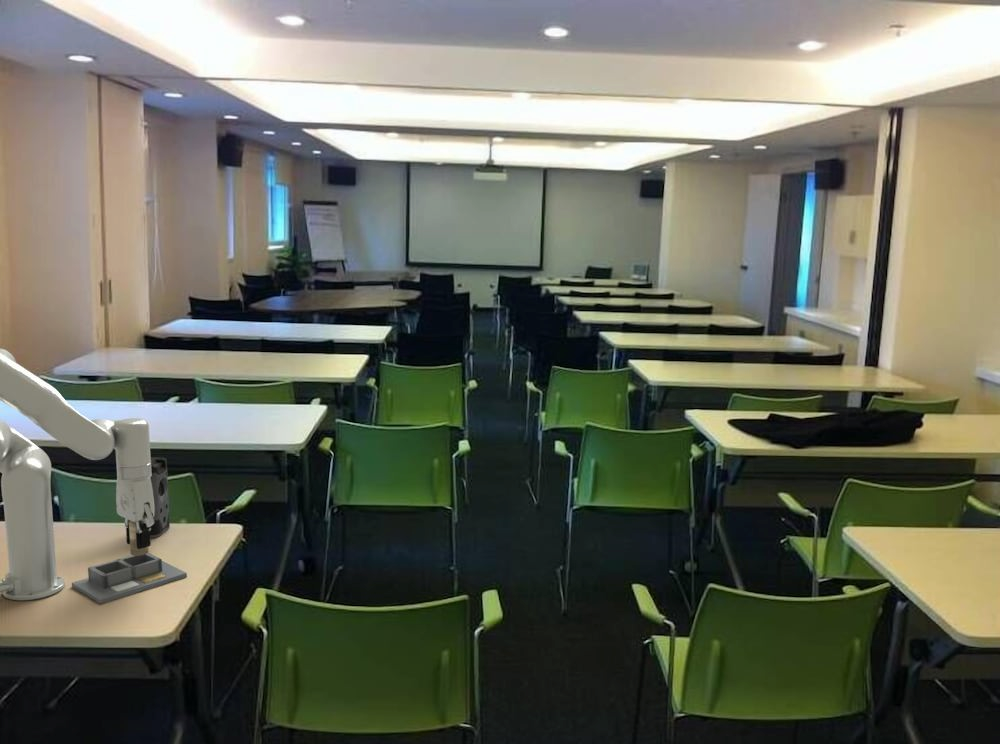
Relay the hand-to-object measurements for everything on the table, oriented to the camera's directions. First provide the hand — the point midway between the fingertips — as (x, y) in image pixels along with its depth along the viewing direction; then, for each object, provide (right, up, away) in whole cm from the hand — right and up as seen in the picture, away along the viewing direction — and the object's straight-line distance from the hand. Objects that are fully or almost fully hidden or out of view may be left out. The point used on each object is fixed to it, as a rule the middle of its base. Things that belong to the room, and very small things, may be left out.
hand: (138, 544), depth 211 cm
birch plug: (0, -2, 0) cm, 2 cm away
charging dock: (-1, -8, -2) cm, 9 cm away
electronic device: (-8, -3, +31) cm, 32 cm away
